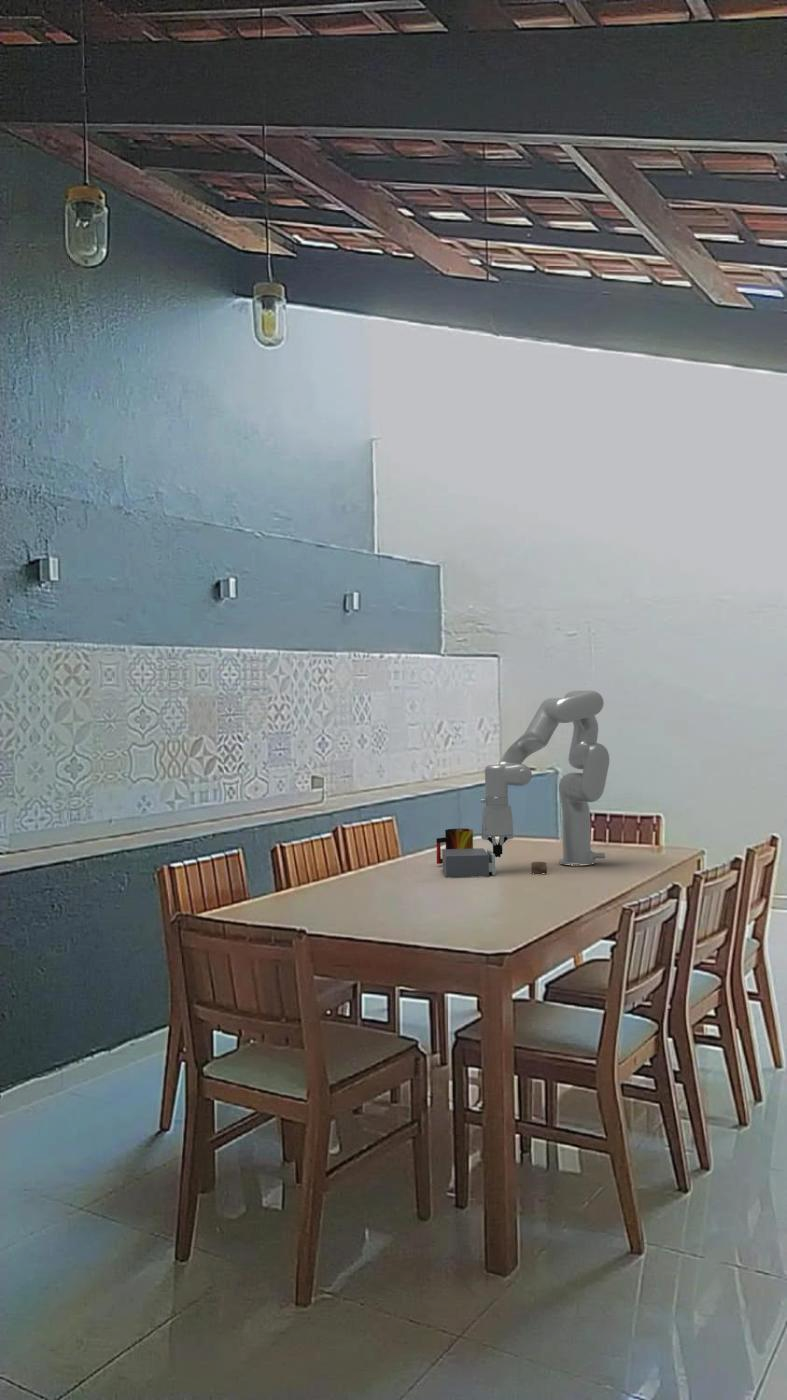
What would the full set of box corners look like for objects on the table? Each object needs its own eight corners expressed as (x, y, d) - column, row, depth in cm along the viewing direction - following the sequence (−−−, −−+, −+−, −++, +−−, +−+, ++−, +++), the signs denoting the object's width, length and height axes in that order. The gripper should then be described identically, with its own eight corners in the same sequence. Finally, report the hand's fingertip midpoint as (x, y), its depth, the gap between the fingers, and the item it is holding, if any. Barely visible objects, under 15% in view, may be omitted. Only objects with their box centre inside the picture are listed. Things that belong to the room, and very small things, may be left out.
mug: (436, 867, 403) (435, 832, 403) (452, 861, 415) (452, 828, 415) (461, 868, 399) (461, 833, 398) (477, 862, 411) (476, 828, 411)
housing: (483, 868, 396) (483, 848, 396) (489, 876, 380) (488, 855, 379) (442, 869, 396) (442, 849, 396) (446, 877, 379) (445, 856, 379)
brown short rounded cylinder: (545, 872, 386) (545, 861, 386) (547, 874, 381) (547, 863, 381) (530, 872, 386) (530, 862, 386) (532, 874, 381) (532, 864, 381)
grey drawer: (490, 868, 395) (489, 849, 395) (495, 874, 381) (495, 855, 381) (451, 869, 395) (450, 850, 395) (454, 876, 380) (454, 856, 380)
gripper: (475, 803, 384) (476, 858, 384) (520, 802, 384) (521, 857, 384) (473, 801, 391) (474, 855, 391) (517, 800, 392) (518, 854, 392)
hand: (497, 856), depth 388 cm, fingers closed
